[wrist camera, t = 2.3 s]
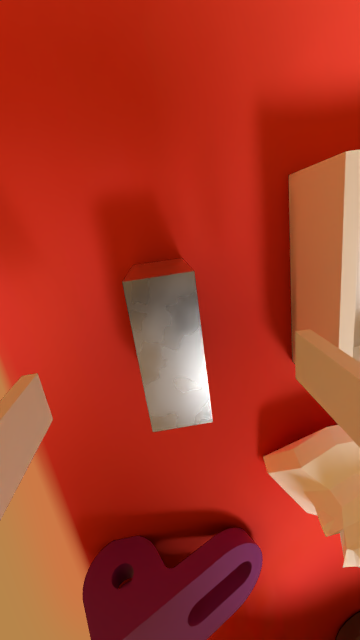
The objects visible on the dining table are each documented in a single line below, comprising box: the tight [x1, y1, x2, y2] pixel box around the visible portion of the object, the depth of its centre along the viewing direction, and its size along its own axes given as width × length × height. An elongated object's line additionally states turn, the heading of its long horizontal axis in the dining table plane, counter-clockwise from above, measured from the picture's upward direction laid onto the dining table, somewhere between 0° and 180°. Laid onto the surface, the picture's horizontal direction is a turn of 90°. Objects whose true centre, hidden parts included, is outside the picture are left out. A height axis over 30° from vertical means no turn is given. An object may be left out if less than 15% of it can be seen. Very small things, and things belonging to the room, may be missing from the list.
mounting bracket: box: [83, 528, 262, 640], centre depth 32 cm, size 9×8×18 cm
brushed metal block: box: [122, 258, 213, 432], centre depth 21 cm, size 10×4×8 cm, turn 8°
